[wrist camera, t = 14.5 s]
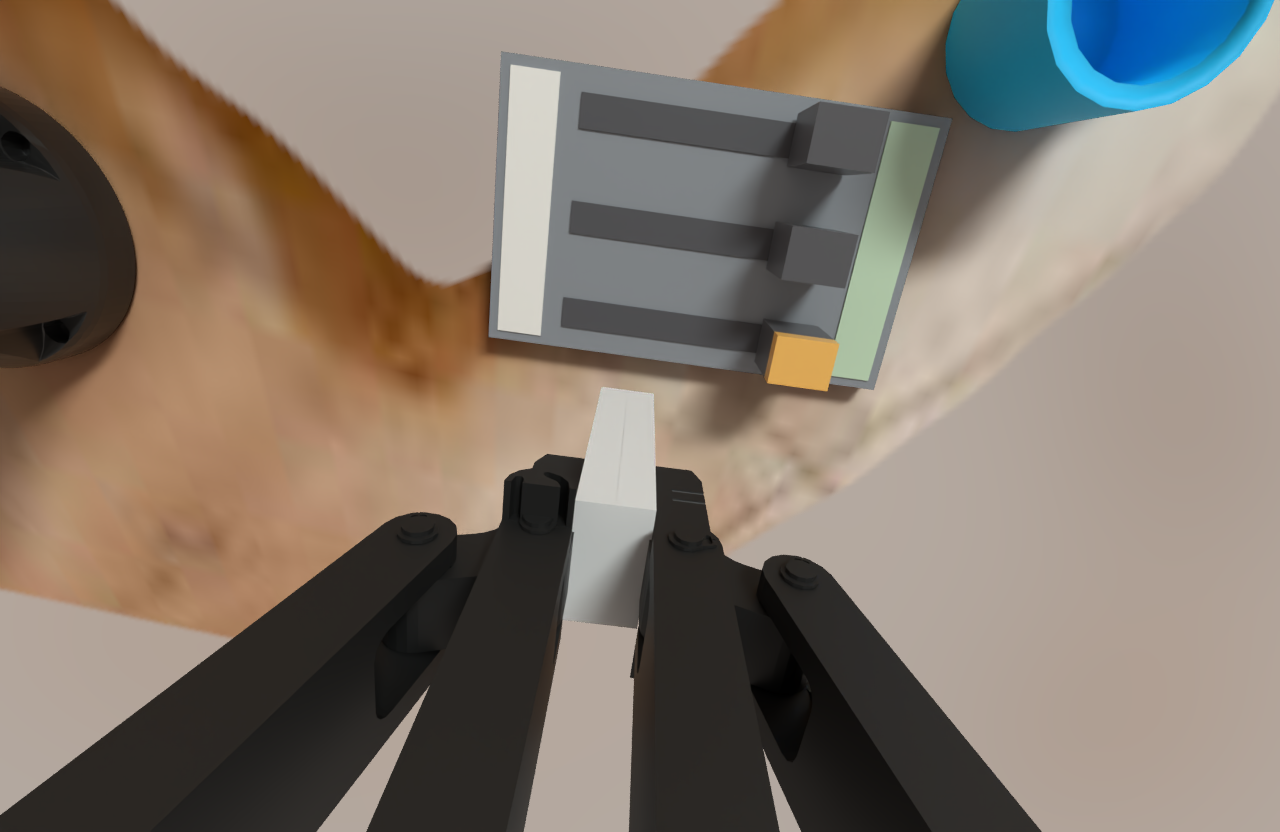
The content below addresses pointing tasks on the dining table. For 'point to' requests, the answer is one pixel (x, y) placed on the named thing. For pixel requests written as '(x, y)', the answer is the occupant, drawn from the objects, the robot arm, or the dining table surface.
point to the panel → (688, 218)
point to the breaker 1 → (838, 139)
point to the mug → (1089, 55)
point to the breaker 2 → (811, 254)
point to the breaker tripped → (795, 355)
